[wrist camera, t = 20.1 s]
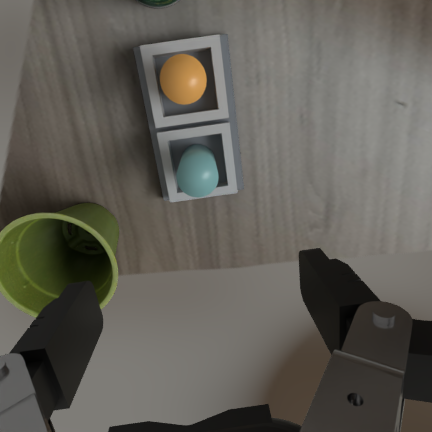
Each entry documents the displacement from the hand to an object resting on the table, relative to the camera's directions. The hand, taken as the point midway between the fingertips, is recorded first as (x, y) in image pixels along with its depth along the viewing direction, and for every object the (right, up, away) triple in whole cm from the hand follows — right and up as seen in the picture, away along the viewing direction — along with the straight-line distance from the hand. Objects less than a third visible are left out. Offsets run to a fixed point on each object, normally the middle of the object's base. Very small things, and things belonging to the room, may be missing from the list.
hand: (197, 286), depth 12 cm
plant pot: (-15, +1, +29) cm, 33 cm away
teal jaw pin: (-1, +9, +25) cm, 27 cm away
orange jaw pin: (-3, +17, +23) cm, 28 cm away
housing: (-2, +14, +25) cm, 28 cm away
